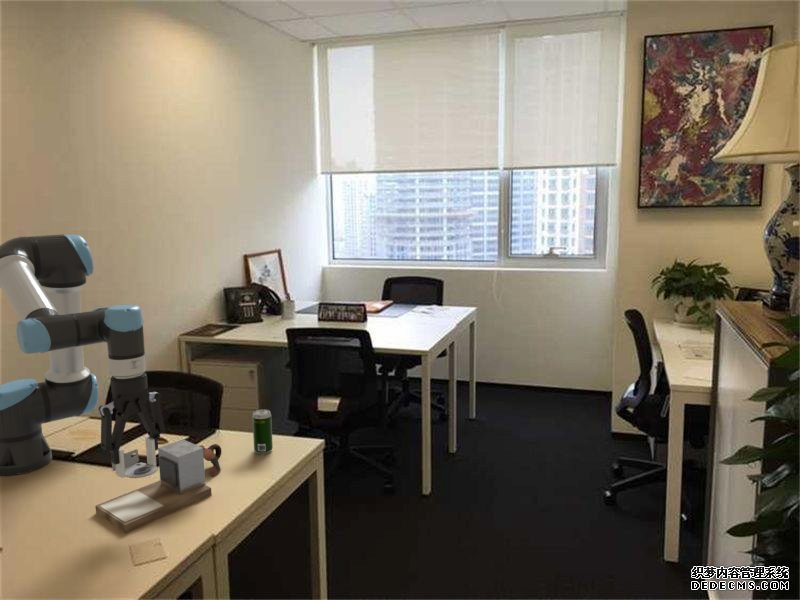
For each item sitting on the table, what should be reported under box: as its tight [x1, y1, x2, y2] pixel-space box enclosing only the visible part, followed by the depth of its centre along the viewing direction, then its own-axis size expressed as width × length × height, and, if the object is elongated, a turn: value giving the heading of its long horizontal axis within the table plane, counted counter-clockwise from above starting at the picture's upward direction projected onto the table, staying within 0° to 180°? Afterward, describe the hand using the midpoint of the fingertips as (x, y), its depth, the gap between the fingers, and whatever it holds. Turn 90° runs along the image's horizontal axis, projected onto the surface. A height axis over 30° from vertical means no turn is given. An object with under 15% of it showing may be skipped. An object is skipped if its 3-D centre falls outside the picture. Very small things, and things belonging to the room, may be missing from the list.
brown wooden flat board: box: [95, 479, 212, 534], centre depth 152 cm, size 14×22×2 cm, turn 141°
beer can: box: [252, 409, 274, 455], centre depth 182 cm, size 5×5×12 cm
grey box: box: [157, 439, 206, 495], centre depth 157 cm, size 9×8×10 cm
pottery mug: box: [199, 443, 223, 478], centre depth 170 cm, size 12×10×8 cm
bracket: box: [111, 448, 159, 479], centre depth 142 cm, size 7×10×3 cm, turn 56°
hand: (136, 469), depth 143 cm, fingers closed on bracket, 7 cm apart
